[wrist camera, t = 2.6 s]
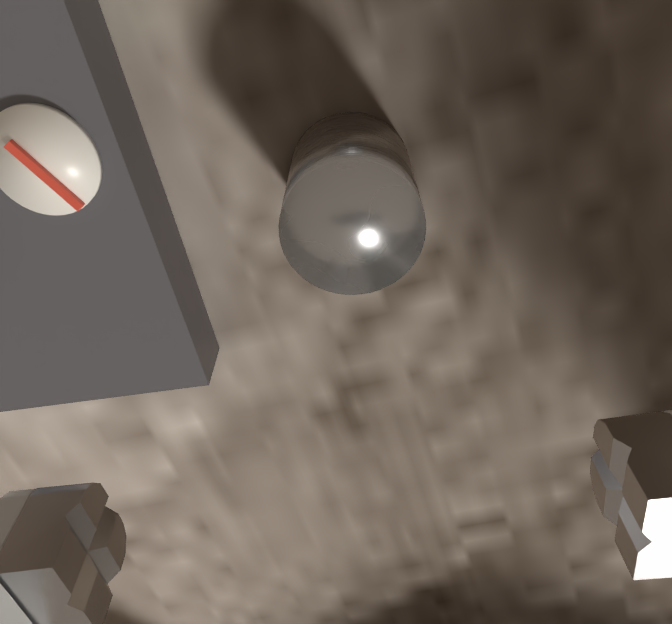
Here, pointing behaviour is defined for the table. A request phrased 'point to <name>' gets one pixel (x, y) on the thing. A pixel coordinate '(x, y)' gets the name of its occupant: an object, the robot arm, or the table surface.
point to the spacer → (351, 206)
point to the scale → (85, 225)
